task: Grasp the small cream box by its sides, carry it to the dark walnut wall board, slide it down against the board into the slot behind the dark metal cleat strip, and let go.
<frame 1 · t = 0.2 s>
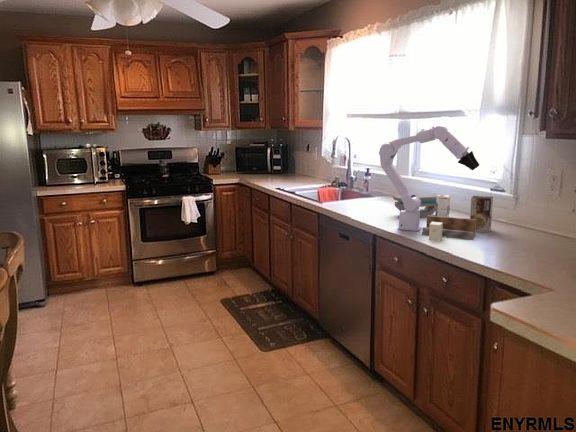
hand: (476, 167, 211), 31 cm above the counter, tool tilted 45°, fingers open, 7 cm apart
cleat board: (448, 234, 219), on the counter
cream box: (435, 238, 212), on the counter
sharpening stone: (416, 216, 261), on the counter
syrup box: (441, 223, 242), on the counter
coffee box: (480, 230, 227), on the counter
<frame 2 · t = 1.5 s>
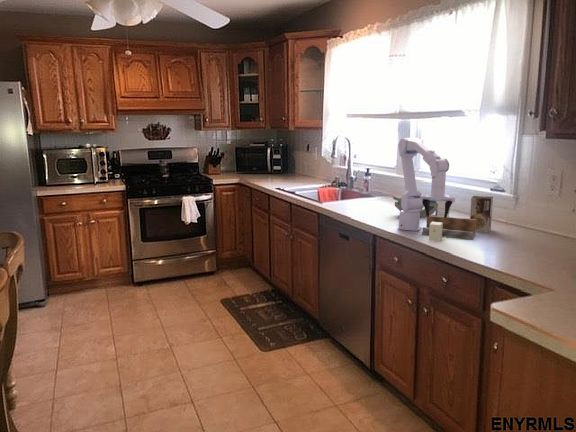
hand: (436, 217, 210), 10 cm above the counter, tool pointing down, fingers open, 7 cm apart
nothing on the counter moved.
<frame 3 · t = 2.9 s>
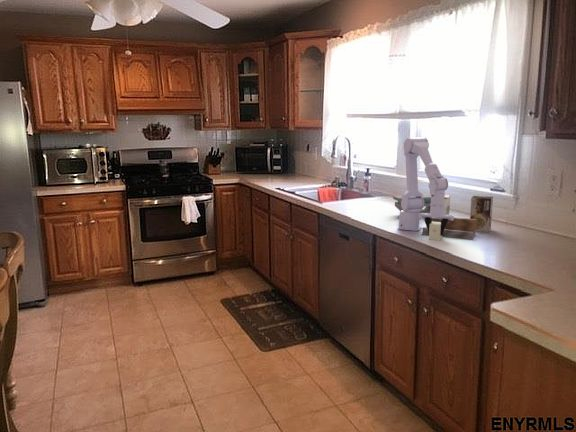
hand: (435, 234, 211), 2 cm above the counter, tool pointing down, fingers closed on cream box, 5 cm apart
cream box: (435, 238, 212), on the counter, touching gripper
everything else where it was.
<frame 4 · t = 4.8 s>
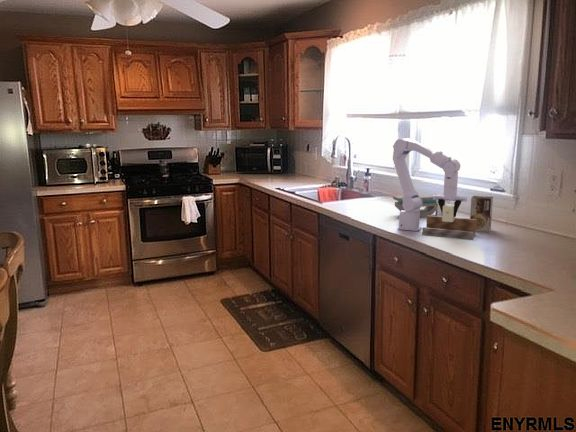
hand: (448, 216, 217), 9 cm above the counter, tool pointing down, fingers closed on cream box, 5 cm apart
cream box: (448, 220, 217), point 7 cm above the counter, touching gripper
everything else where it was.
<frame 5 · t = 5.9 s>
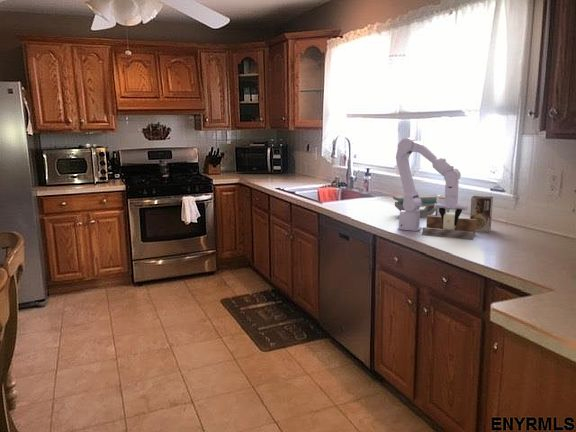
hand: (449, 224, 219), 4 cm above the counter, tool pointing down, fingers closed on cream box, 5 cm apart
cream box: (449, 228, 219), point 2 cm above the counter, touching gripper
everything else where it was.
when the fingers open (4 cm above the counter, at t = 6.6 s): cream box stays where it is, resting on cleat board.
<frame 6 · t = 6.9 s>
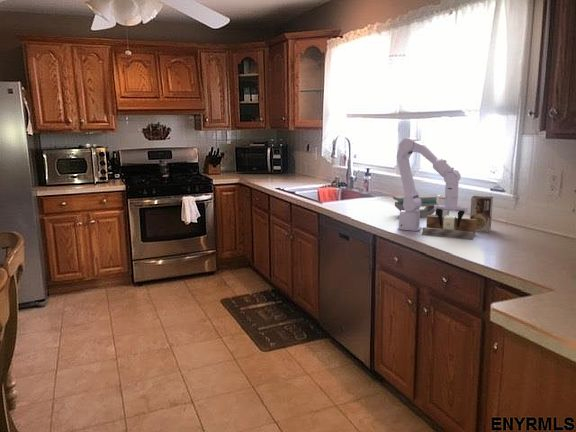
hand: (449, 226, 219), 4 cm above the counter, tool pointing down, fingers open, 7 cm apart
cream box: (449, 231, 220), point 1 cm above the counter, touching cleat board
everything else where it was.
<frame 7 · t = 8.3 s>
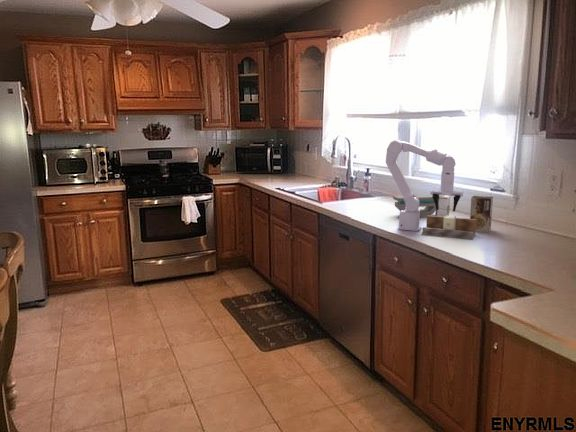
hand: (445, 210, 224), 10 cm above the counter, tool pointing down, fingers open, 7 cm apart
nothing on the counter moved.
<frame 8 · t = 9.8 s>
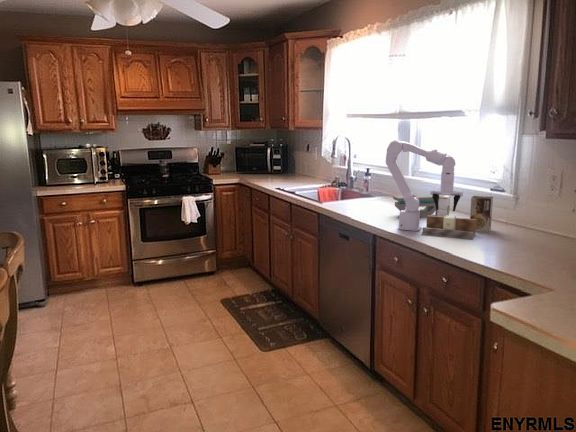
hand: (445, 210, 224), 10 cm above the counter, tool pointing down, fingers open, 7 cm apart
nothing on the counter moved.
at the end: cream box 0.6 cm off-centre on the cleat board, point 1.0 cm above the cleat board's base; cream box tilted 0°; the gripper is holding nothing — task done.
